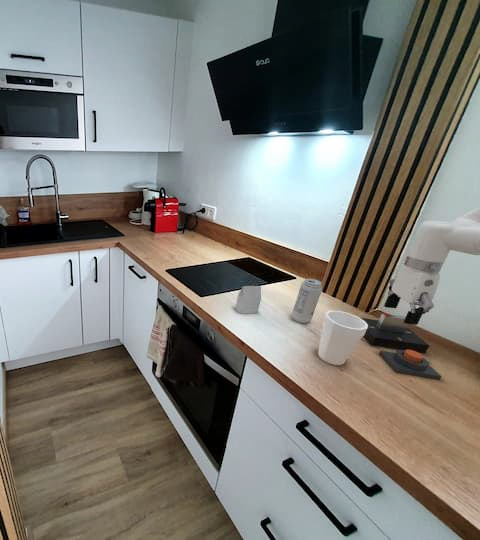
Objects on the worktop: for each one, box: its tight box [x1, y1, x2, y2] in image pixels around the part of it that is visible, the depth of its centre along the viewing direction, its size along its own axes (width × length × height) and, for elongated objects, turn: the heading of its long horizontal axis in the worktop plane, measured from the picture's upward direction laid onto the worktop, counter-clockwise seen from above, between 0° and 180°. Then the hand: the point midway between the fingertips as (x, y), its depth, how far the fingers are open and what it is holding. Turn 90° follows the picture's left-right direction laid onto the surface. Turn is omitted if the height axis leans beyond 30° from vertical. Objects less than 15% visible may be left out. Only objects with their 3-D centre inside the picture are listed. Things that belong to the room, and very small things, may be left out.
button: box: [403, 350, 424, 363], centre depth 79 cm, size 4×4×2 cm
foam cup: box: [317, 310, 368, 366], centre depth 80 cm, size 10×9×13 cm
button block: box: [378, 349, 442, 381], centre depth 80 cm, size 10×8×3 cm
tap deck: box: [360, 317, 430, 354], centre depth 92 cm, size 14×12×3 cm
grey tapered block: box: [235, 285, 262, 314], centre depth 103 cm, size 4×7×10 cm, turn 95°
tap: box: [376, 313, 410, 333], centre depth 90 cm, size 7×2×5 cm, turn 76°
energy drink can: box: [291, 278, 323, 325], centre depth 98 cm, size 6×6×15 cm
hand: (399, 315), depth 89 cm, fingers open, 9 cm apart
